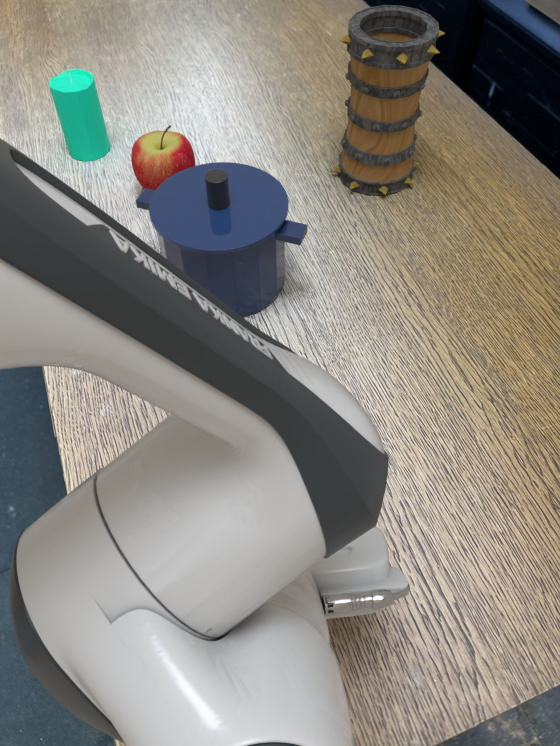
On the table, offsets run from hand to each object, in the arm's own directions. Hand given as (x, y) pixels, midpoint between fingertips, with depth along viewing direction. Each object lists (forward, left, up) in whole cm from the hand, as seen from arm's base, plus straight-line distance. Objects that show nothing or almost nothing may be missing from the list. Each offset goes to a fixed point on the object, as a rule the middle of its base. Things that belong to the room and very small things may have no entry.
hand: (247, 535), depth 54 cm
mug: (+57, +20, -5) cm, 60 cm away
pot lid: (+27, +23, +6) cm, 36 cm away
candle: (+37, +56, -5) cm, 67 cm away
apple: (+36, +40, -5) cm, 54 cm away
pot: (+27, +23, -4) cm, 36 cm away
